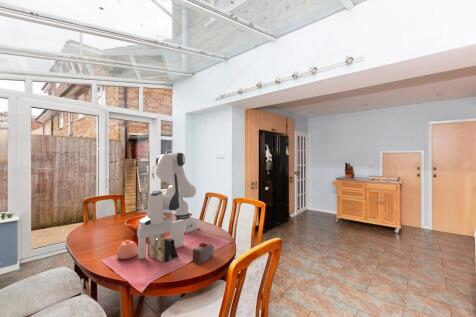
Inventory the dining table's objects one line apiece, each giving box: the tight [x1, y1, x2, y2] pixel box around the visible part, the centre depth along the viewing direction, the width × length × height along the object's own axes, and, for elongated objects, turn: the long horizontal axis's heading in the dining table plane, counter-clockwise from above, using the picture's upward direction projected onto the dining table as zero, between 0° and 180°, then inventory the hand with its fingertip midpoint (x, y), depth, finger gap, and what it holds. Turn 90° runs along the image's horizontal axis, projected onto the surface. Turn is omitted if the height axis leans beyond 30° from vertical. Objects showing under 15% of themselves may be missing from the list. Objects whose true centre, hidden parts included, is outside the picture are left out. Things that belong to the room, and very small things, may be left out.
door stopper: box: [164, 237, 179, 263], centre depth 136 cm, size 9×6×12 cm, turn 143°
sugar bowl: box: [116, 239, 138, 261], centre depth 138 cm, size 12×14×10 cm
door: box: [148, 233, 165, 263], centre depth 135 cm, size 14×4×16 cm, turn 57°
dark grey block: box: [192, 242, 215, 265], centre depth 135 cm, size 14×8×10 cm, turn 151°
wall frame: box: [137, 219, 185, 260], centre depth 145 cm, size 30×2×18 cm, turn 134°
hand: (155, 242), depth 130 cm, fingers closed
